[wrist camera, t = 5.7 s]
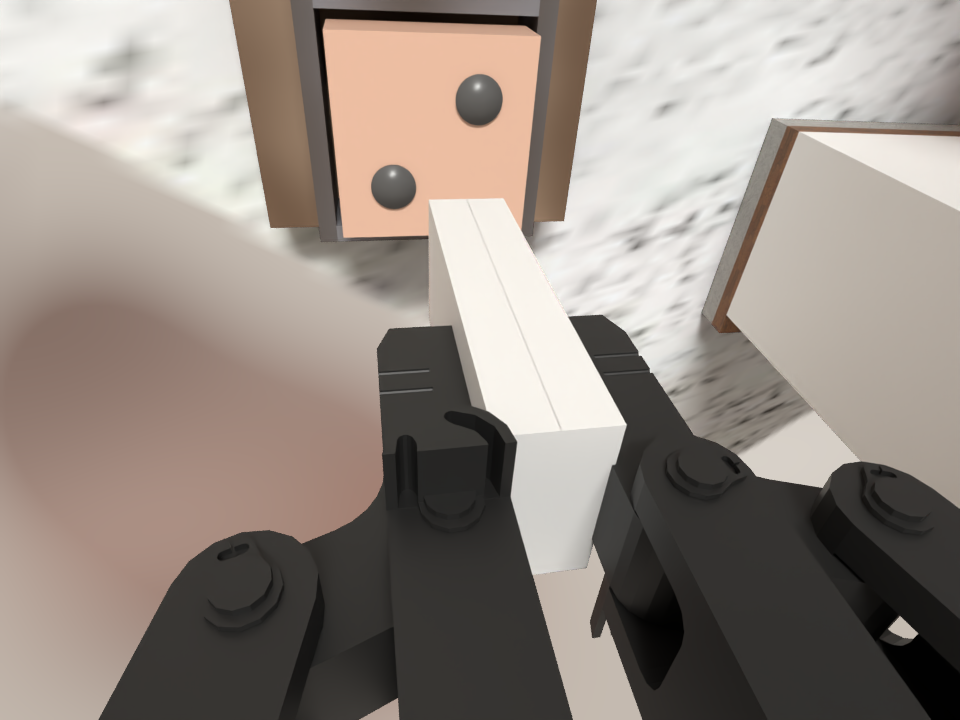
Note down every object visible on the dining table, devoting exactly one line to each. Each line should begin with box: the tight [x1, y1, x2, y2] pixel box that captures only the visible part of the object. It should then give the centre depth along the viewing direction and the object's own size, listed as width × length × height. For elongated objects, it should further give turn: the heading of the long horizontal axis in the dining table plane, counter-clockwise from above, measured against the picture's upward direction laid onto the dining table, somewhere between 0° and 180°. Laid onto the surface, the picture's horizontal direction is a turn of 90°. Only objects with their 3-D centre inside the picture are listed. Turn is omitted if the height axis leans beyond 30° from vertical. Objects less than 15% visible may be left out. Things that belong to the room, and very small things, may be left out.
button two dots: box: [323, 19, 541, 238], centre depth 18 cm, size 6×6×2 cm
